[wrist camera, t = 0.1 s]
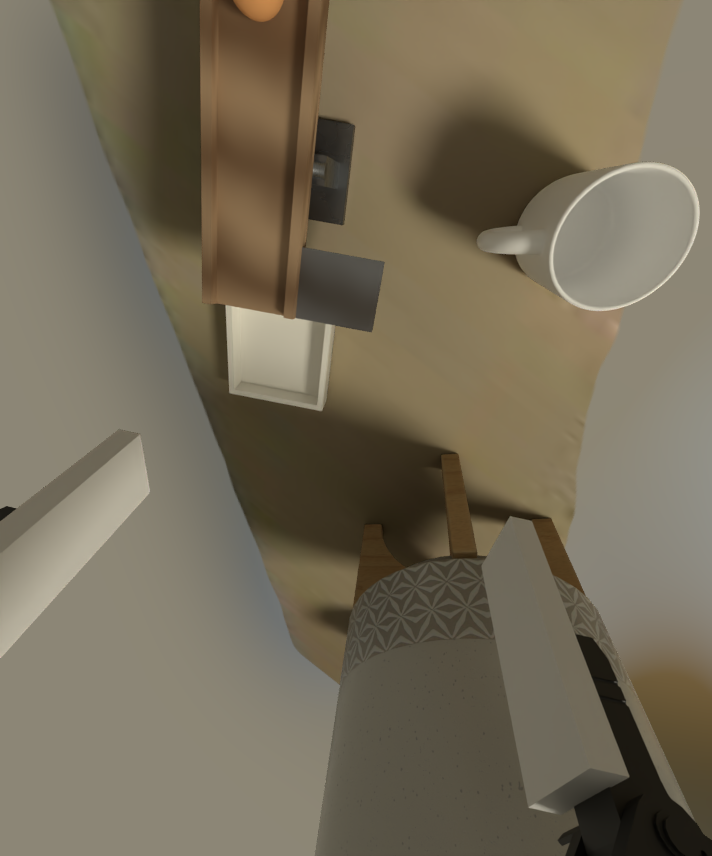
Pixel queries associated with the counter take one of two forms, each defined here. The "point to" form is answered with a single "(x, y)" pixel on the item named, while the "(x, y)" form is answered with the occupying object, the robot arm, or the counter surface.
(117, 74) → the counter surface
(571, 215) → the mug
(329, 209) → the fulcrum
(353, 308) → the plank
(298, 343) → the dish
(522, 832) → the planter
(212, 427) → the counter surface
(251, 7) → the ball
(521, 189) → the counter surface
